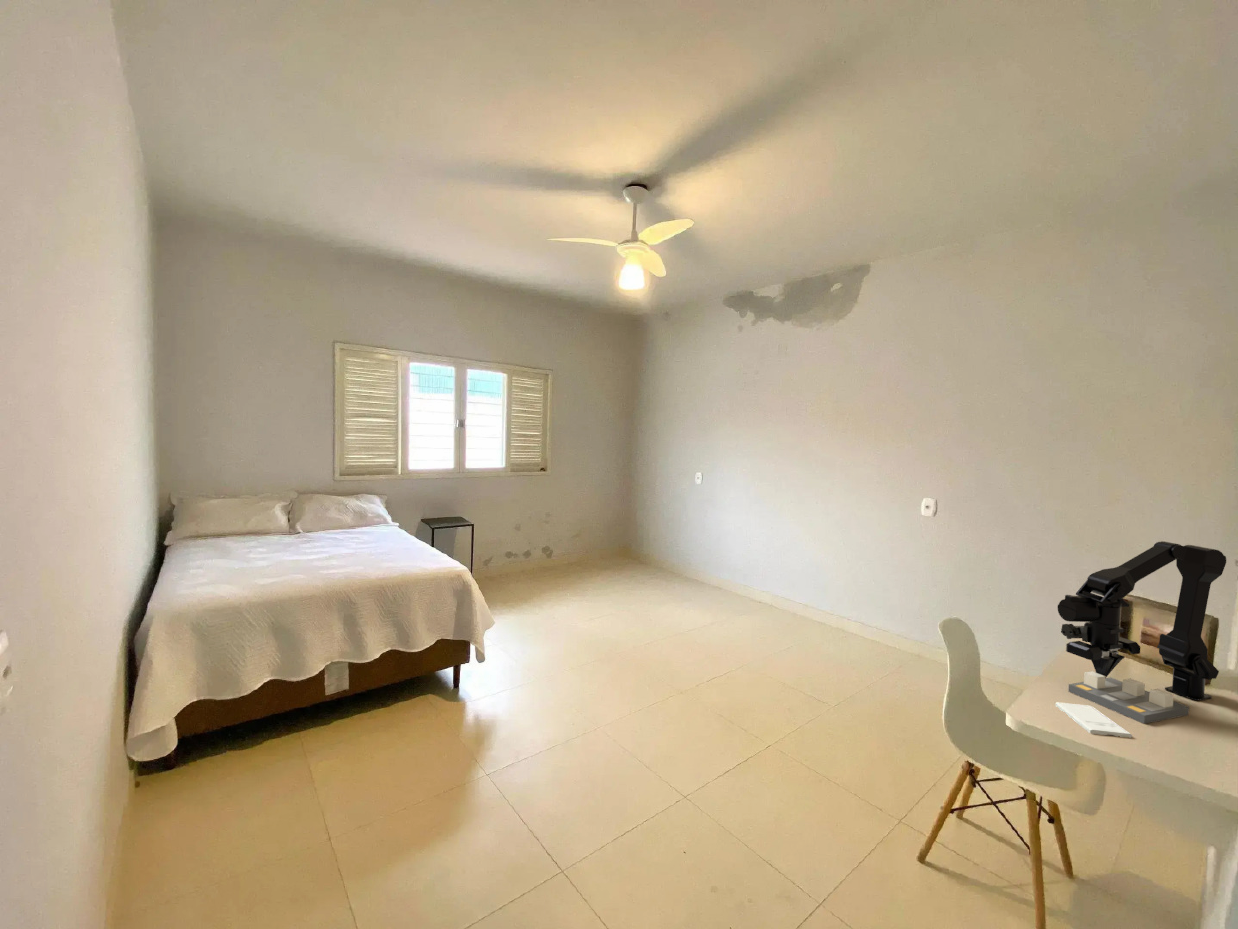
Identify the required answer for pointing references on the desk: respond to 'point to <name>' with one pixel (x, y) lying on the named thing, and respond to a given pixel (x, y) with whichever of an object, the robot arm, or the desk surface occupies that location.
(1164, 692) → the tab
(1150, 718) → the switch panel
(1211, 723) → the desk surface
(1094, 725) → the external hard drive
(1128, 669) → the desk surface
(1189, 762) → the desk surface
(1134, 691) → the tab
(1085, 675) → the tab
